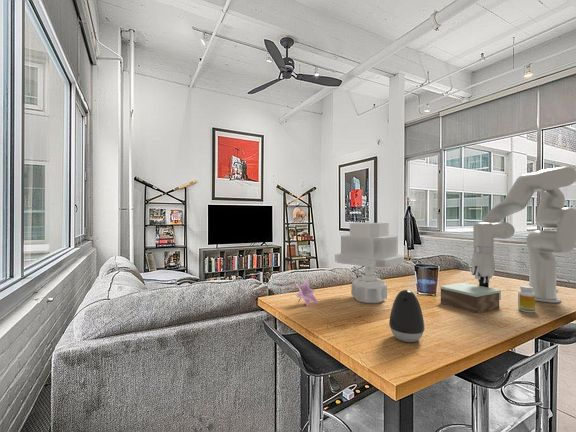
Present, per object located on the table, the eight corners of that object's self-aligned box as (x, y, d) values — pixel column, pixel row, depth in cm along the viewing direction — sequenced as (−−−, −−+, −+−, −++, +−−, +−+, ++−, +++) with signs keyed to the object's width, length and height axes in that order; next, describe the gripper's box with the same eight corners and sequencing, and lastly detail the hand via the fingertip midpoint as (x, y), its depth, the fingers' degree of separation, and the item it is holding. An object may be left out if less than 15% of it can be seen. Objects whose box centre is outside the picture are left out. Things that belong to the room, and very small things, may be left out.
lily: (291, 310, 126) (301, 292, 123) (284, 293, 136) (294, 275, 134) (315, 315, 130) (325, 298, 128) (307, 298, 141) (316, 281, 138)
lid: (463, 291, 141) (463, 282, 141) (500, 299, 126) (500, 290, 126) (440, 295, 133) (440, 286, 133) (476, 304, 119) (476, 294, 119)
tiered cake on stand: (409, 298, 139) (409, 223, 139) (383, 312, 120) (383, 224, 120) (357, 289, 157) (357, 222, 157) (328, 299, 138) (327, 223, 138)
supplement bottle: (538, 313, 119) (538, 288, 119) (522, 312, 120) (522, 287, 120) (530, 309, 124) (530, 285, 124) (515, 308, 125) (515, 284, 125)
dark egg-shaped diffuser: (385, 341, 92) (385, 291, 92) (393, 330, 101) (393, 284, 101) (421, 349, 87) (421, 296, 87) (426, 336, 96) (426, 288, 96)
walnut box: (462, 298, 140) (462, 285, 140) (499, 307, 126) (499, 293, 126) (440, 302, 133) (440, 288, 133) (476, 312, 119) (476, 297, 119)
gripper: (485, 248, 141) (485, 287, 141) (464, 250, 134) (465, 291, 134) (502, 250, 134) (502, 291, 134) (481, 252, 128) (482, 295, 128)
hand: (483, 291), depth 134 cm, fingers closed
